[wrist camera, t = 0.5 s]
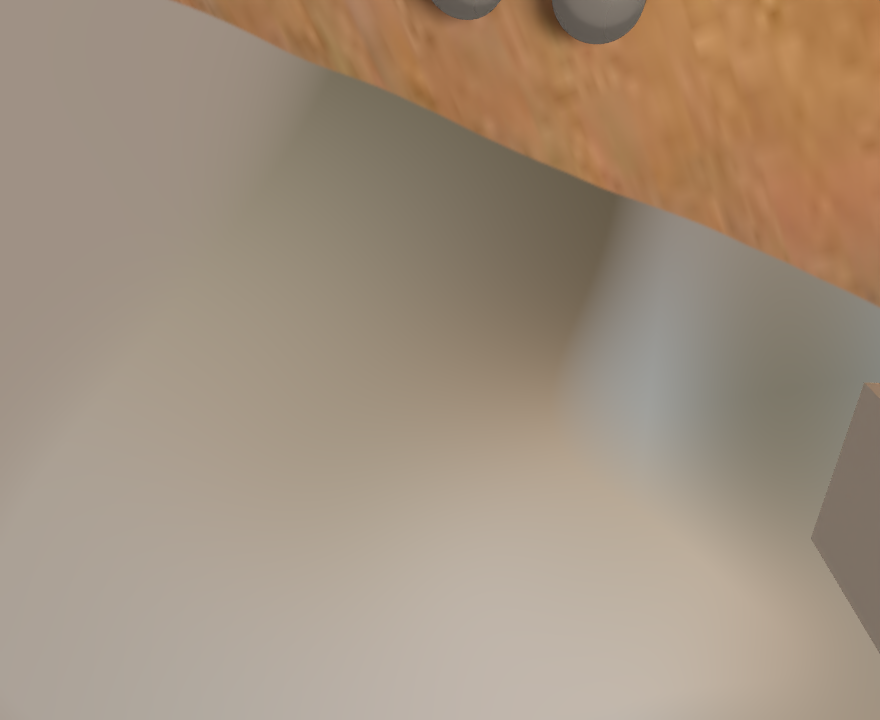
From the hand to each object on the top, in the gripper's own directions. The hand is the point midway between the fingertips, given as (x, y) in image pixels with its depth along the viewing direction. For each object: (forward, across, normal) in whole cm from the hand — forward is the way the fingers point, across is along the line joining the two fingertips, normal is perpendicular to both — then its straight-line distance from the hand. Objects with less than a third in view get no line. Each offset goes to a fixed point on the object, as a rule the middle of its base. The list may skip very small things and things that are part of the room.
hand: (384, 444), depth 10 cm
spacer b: (+28, +7, +6) cm, 30 cm away
